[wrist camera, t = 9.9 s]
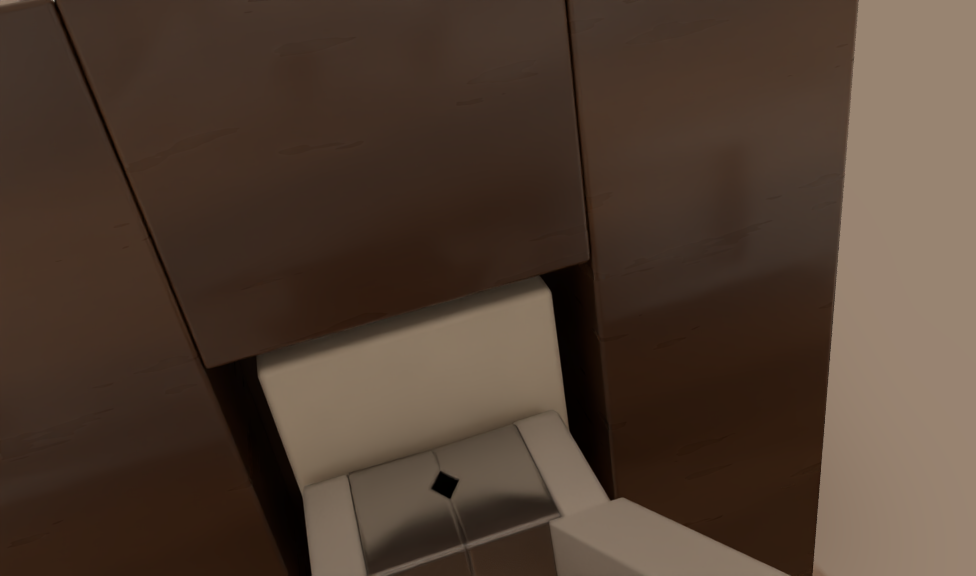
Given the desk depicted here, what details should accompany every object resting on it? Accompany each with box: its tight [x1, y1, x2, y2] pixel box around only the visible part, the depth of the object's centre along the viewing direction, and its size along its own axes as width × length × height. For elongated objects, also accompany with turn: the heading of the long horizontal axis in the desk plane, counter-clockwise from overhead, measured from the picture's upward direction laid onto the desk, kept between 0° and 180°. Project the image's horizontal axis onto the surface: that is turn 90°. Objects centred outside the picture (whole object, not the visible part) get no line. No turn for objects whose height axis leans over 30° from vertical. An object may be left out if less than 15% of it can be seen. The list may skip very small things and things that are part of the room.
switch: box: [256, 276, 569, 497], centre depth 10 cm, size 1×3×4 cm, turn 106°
